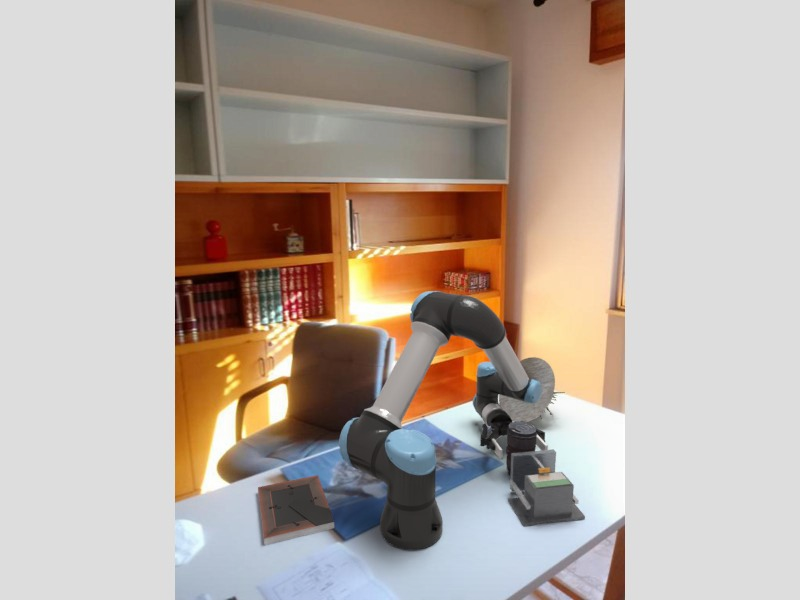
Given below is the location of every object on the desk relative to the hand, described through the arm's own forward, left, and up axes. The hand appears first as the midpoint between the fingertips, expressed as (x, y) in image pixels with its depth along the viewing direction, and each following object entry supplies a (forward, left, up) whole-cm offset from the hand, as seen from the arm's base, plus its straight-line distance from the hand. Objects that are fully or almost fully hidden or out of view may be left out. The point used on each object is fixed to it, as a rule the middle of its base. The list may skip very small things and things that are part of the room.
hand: (523, 452), depth 133 cm
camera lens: (0, +1, -8) cm, 8 cm away
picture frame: (-64, -4, -9) cm, 65 cm away
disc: (+20, +38, -8) cm, 44 cm away
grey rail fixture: (0, -12, -7) cm, 14 cm away
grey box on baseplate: (0, -16, -8) cm, 18 cm away
